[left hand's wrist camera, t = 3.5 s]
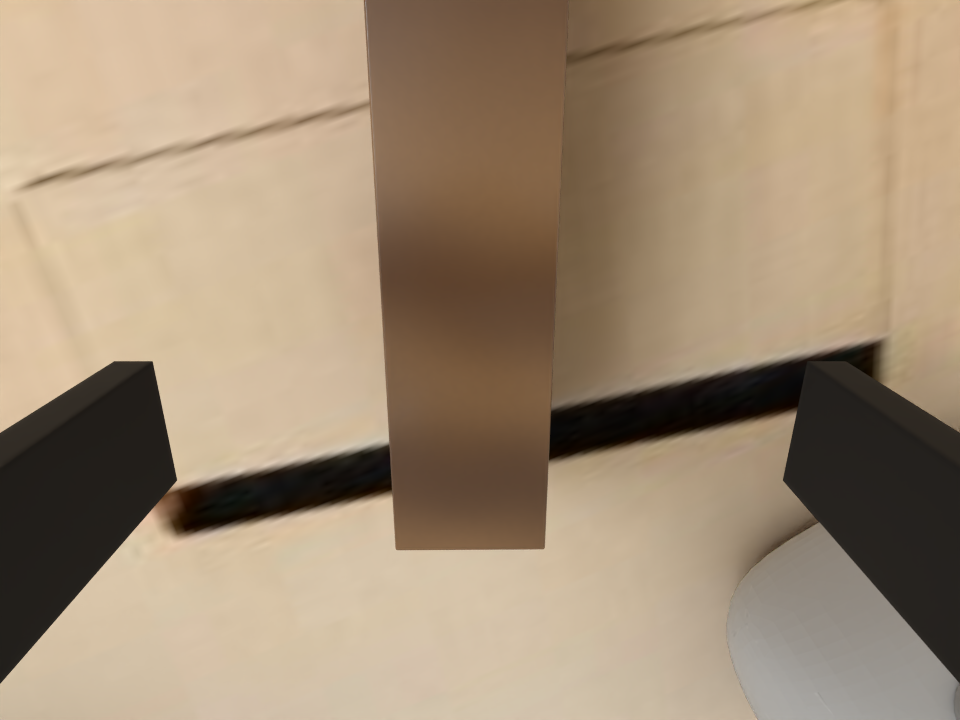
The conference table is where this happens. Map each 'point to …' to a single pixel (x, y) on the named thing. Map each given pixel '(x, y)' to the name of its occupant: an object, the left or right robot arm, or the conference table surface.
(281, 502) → the conference table surface
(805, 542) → the projector
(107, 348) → the conference table surface
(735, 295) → the conference table surface
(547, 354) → the bar
